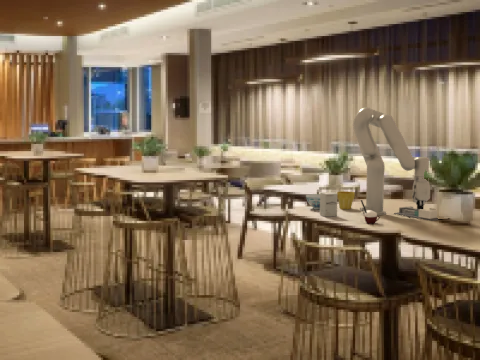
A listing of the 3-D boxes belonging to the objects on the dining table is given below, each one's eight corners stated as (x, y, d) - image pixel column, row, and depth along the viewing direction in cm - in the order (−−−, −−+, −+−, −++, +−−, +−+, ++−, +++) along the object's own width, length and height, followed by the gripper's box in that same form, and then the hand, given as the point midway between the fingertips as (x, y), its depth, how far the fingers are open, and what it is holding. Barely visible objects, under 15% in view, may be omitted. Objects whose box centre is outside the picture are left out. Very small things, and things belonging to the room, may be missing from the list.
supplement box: (324, 216, 328) (325, 193, 327) (319, 214, 336) (319, 192, 334) (337, 216, 330) (337, 193, 329) (331, 214, 337) (332, 191, 336)
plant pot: (357, 209, 356) (358, 192, 355) (342, 210, 353) (342, 193, 352) (348, 207, 366) (348, 190, 365) (333, 207, 362) (333, 191, 361)
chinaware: (336, 208, 359) (336, 195, 358) (321, 211, 348) (322, 198, 347) (315, 206, 369) (315, 193, 368) (300, 208, 358) (301, 195, 357)
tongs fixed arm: (420, 216, 326) (420, 211, 326) (398, 212, 339) (398, 207, 339) (432, 215, 331) (432, 209, 331) (410, 211, 344) (410, 206, 344)
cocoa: (379, 222, 311) (379, 199, 309) (379, 224, 305) (380, 200, 303) (360, 221, 313) (360, 198, 312) (359, 223, 307) (360, 200, 305)
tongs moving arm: (424, 215, 328) (424, 210, 328) (407, 212, 339) (407, 207, 338) (426, 215, 329) (426, 210, 329) (409, 212, 339) (409, 207, 339)
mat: (432, 220, 316) (432, 219, 316) (393, 214, 339) (393, 213, 339) (450, 218, 323) (450, 217, 323) (411, 212, 346) (411, 211, 346)
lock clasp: (429, 218, 317) (430, 211, 317) (418, 216, 324) (418, 209, 323) (442, 217, 323) (442, 209, 322) (431, 215, 329) (431, 208, 329)
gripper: (417, 180, 326) (416, 214, 328) (435, 179, 334) (434, 212, 336) (406, 179, 332) (405, 212, 334) (425, 178, 341) (423, 210, 342)
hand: (420, 212), depth 335 cm, fingers closed
